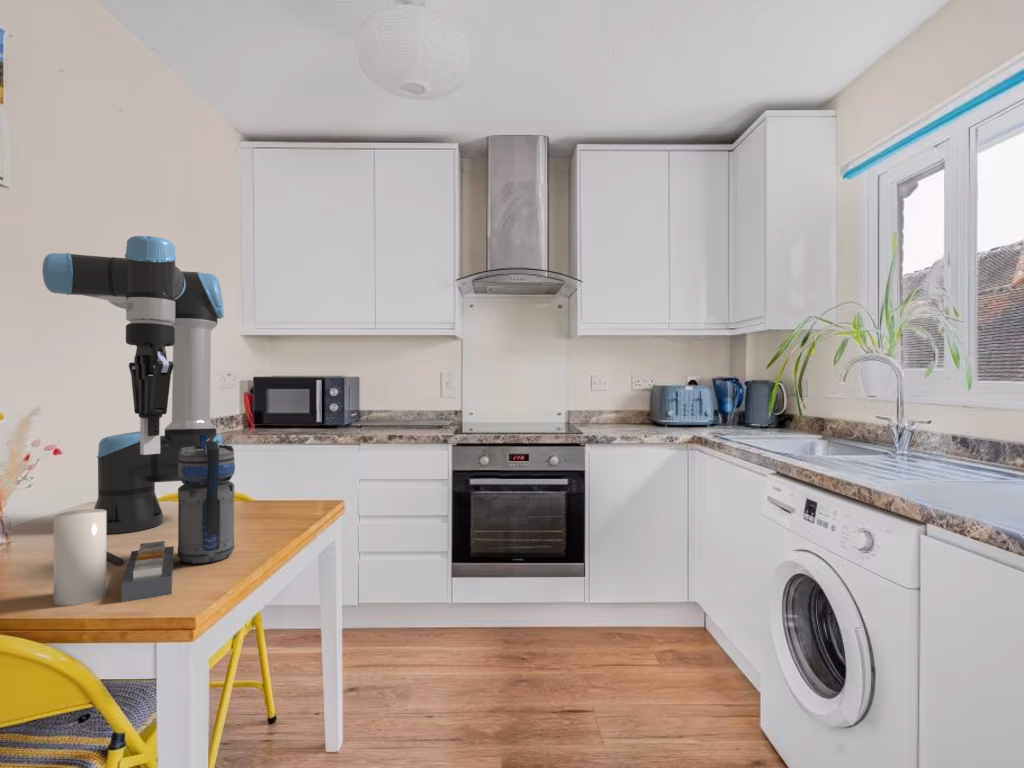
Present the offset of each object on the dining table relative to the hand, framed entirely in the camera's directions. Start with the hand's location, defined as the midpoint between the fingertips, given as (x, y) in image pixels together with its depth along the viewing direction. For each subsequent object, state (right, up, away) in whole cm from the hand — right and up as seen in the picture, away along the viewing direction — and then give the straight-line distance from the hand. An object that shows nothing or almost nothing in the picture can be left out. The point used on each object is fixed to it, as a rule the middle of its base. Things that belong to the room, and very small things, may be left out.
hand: (150, 453), depth 102 cm
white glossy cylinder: (-6, -23, -8) cm, 25 cm away
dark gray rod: (-15, -23, +12) cm, 30 cm away
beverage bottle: (+4, -23, +12) cm, 26 cm away
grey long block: (0, -23, 0) cm, 23 cm away
